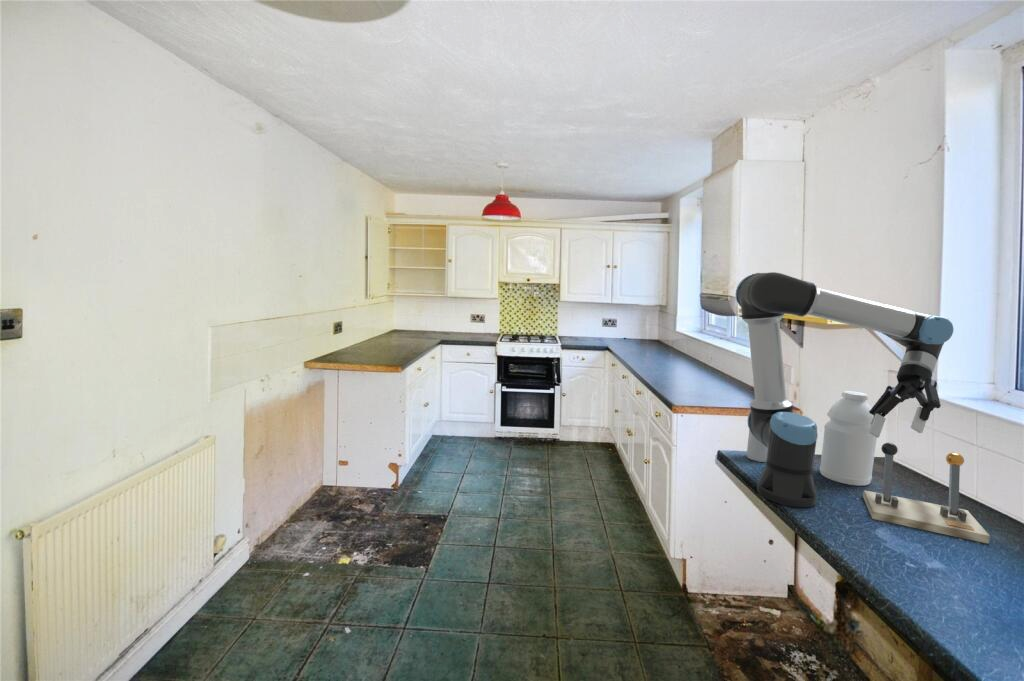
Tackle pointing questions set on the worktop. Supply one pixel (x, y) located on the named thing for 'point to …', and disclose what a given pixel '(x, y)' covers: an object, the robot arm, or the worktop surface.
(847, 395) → the bottle
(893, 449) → the black knob lever
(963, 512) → the switch board
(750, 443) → the milk bottle
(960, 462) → the orange knob lever
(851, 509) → the worktop surface
